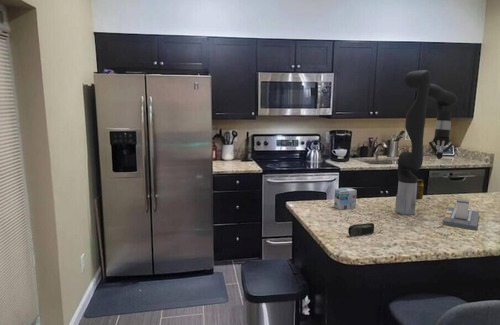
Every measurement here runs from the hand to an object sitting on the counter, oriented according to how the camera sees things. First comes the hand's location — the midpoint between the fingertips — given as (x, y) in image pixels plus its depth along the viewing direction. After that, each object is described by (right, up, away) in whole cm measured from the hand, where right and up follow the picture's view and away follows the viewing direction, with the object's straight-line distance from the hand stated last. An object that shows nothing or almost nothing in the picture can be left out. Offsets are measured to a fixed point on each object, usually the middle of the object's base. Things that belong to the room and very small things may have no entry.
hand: (439, 158), depth 199 cm
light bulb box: (-55, -28, -2) cm, 62 cm away
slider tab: (-3, -30, -26) cm, 40 cm away
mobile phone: (-60, -35, -43) cm, 82 cm away
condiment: (-4, -25, +19) cm, 32 cm away
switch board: (-1, -31, -23) cm, 39 cm away
